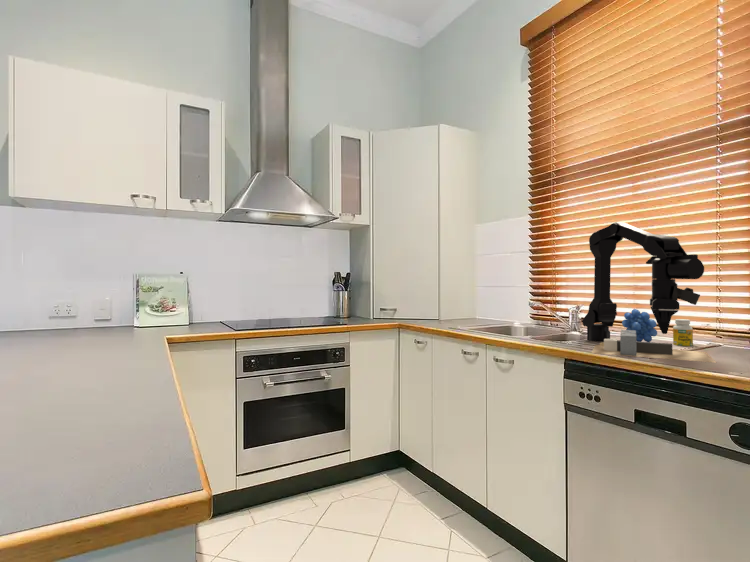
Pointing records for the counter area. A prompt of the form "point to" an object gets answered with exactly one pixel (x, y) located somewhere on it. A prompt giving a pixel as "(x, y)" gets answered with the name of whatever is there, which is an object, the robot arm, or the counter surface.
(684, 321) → the supplement bottle
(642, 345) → the grey and white bar
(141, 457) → the counter surface
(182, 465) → the counter surface
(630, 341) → the grey boxy piece
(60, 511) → the counter surface
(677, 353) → the mounting board
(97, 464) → the counter surface
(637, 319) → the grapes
